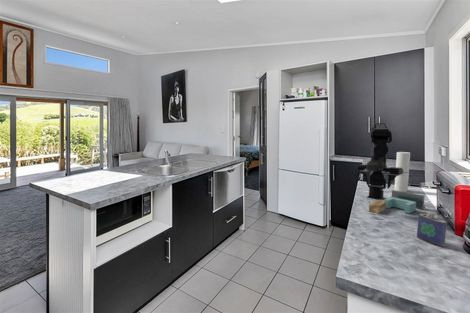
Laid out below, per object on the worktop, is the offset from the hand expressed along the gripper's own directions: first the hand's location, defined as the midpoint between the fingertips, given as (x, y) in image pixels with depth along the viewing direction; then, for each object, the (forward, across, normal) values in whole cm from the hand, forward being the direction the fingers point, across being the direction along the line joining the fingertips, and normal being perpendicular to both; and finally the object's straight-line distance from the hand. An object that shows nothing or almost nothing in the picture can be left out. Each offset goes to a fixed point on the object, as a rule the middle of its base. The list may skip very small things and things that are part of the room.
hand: (377, 186), depth 117 cm
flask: (+14, +26, -18) cm, 34 cm away
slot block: (+12, +6, +12) cm, 18 cm away
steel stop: (+12, +6, +22) cm, 25 cm away
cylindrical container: (+11, -8, +55) cm, 57 cm away
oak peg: (+13, -1, +3) cm, 13 cm away
